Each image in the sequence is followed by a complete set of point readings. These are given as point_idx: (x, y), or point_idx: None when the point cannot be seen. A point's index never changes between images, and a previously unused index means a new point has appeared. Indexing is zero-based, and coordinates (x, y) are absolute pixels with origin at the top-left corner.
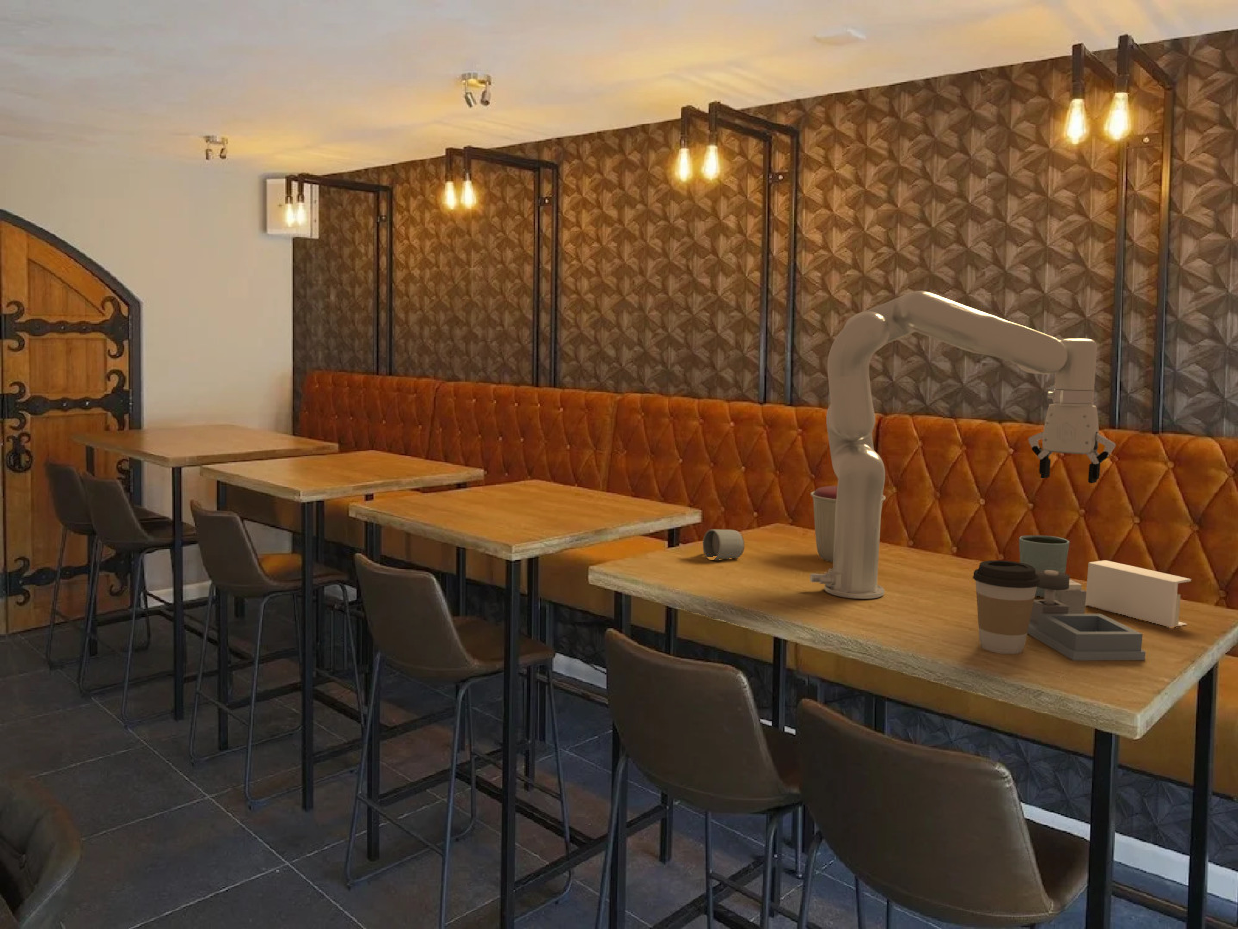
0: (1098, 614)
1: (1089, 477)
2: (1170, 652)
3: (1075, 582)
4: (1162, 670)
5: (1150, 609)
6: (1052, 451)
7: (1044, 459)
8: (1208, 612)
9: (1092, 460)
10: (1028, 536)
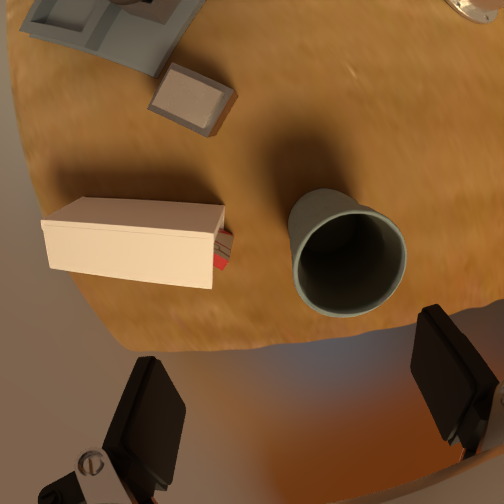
0: (84, 40)
1: (140, 374)
2: (31, 93)
3: (170, 109)
4: (16, 32)
5: (101, 203)
6: (458, 465)
7: (479, 401)
8: (124, 325)
9: (105, 469)
10: (398, 279)
